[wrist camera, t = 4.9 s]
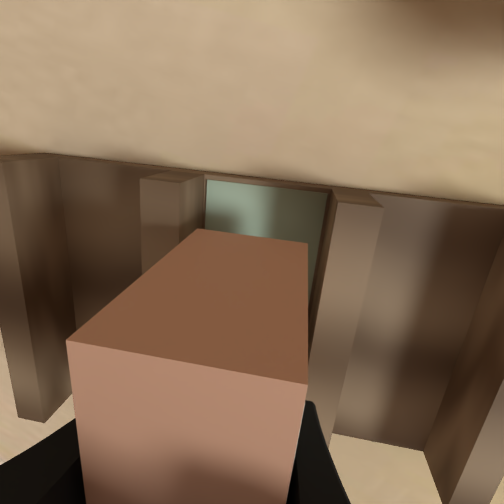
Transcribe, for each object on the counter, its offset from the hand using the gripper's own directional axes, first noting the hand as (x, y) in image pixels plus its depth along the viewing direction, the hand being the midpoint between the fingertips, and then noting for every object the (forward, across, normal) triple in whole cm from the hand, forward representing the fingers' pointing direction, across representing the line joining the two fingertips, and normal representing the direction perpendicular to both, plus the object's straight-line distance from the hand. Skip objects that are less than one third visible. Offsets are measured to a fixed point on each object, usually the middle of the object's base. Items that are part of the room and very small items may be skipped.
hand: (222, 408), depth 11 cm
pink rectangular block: (+3, 0, 0) cm, 3 cm away
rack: (+7, 0, 0) cm, 7 cm away
